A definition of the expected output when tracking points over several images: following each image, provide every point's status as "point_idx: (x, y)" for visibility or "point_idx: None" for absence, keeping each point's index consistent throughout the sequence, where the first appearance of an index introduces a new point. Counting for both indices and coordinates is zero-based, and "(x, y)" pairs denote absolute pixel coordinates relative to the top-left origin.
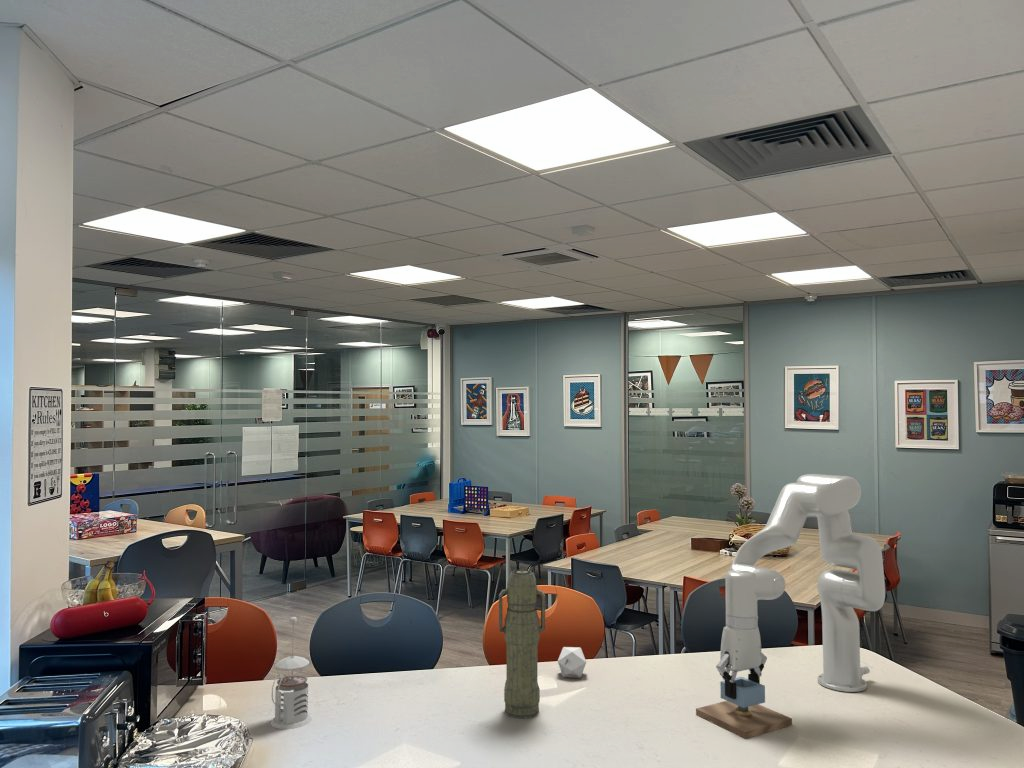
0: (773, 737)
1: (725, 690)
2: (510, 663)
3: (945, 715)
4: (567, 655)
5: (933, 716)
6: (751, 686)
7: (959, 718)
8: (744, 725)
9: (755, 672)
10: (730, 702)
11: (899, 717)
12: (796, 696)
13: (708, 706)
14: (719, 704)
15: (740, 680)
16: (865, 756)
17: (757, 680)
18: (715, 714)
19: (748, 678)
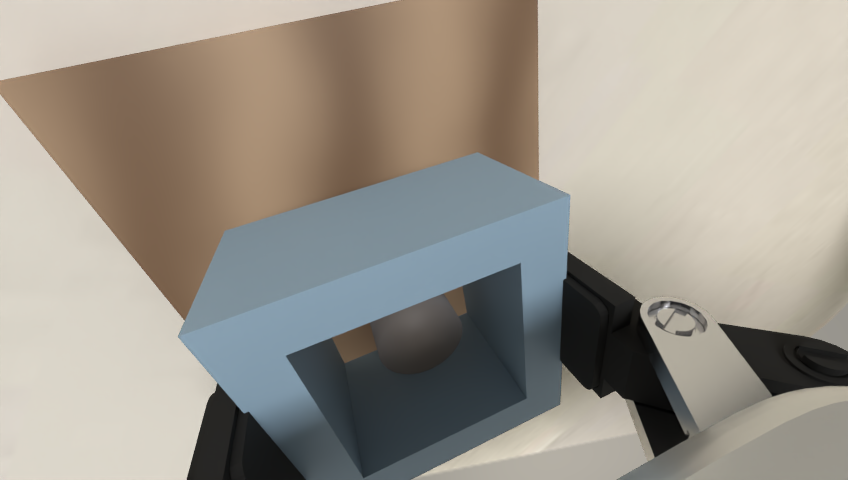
0: None
1: (207, 412)
2: None
3: (832, 269)
4: None
5: (816, 271)
6: (461, 431)
7: (828, 284)
8: None
9: (649, 396)
10: (399, 50)
11: (774, 269)
12: (783, 15)
13: (163, 72)
14: (291, 58)
15: (491, 265)
16: (531, 445)
17: (576, 375)
18: (175, 235)
19: (570, 290)
